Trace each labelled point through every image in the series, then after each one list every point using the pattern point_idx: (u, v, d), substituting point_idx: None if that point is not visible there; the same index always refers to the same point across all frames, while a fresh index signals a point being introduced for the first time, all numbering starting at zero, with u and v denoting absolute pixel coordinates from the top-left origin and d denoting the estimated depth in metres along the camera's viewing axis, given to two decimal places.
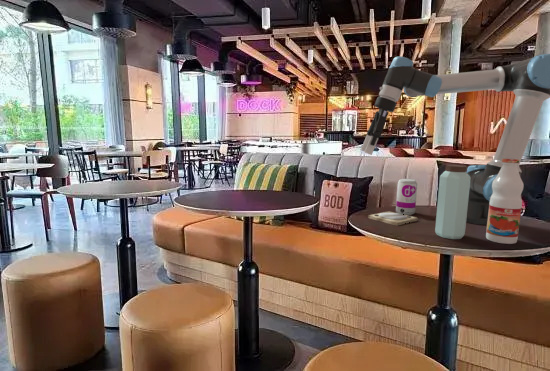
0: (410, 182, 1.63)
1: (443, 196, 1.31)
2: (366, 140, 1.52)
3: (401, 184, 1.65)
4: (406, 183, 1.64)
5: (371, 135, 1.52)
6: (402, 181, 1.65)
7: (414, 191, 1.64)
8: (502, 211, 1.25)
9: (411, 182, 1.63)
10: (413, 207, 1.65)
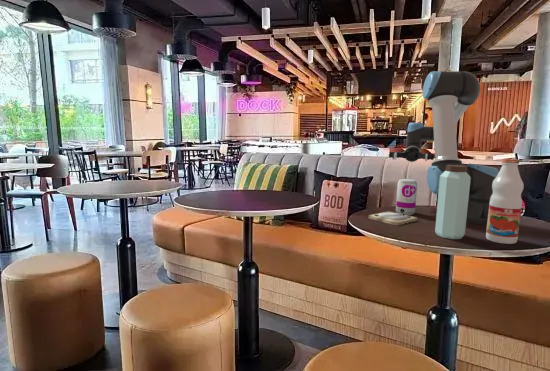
0: (410, 182, 1.63)
1: (443, 196, 1.31)
2: None
3: (401, 184, 1.65)
4: (406, 183, 1.64)
5: (427, 155, 1.77)
6: (402, 181, 1.65)
7: (414, 191, 1.64)
8: (502, 211, 1.25)
9: (411, 182, 1.63)
10: (413, 207, 1.65)
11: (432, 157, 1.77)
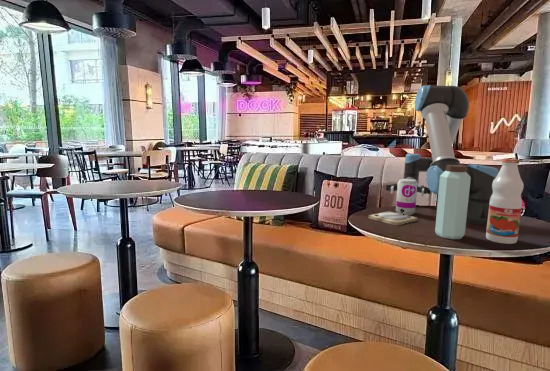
0: (410, 182, 1.63)
1: (443, 196, 1.31)
2: None
3: (401, 184, 1.65)
4: (406, 183, 1.64)
5: (424, 190, 1.78)
6: (402, 181, 1.65)
7: (414, 191, 1.64)
8: (502, 211, 1.25)
9: (411, 182, 1.63)
10: (413, 207, 1.65)
11: (429, 191, 1.77)
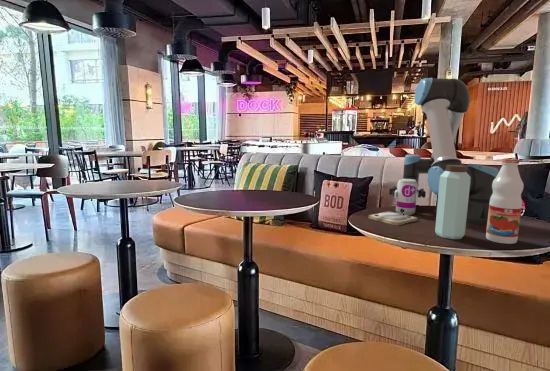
0: (410, 182, 1.63)
1: (443, 196, 1.31)
2: None
3: (401, 184, 1.65)
4: (406, 183, 1.64)
5: (418, 193, 1.68)
6: (402, 181, 1.65)
7: (414, 191, 1.64)
8: (502, 211, 1.25)
9: (411, 182, 1.63)
10: (413, 207, 1.65)
11: (423, 195, 1.67)
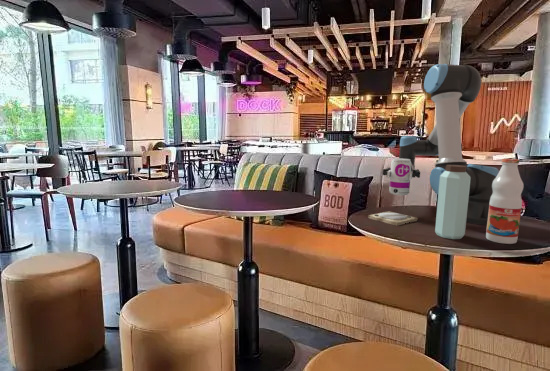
0: (404, 161, 1.58)
1: (443, 196, 1.31)
2: None
3: (394, 163, 1.59)
4: (399, 162, 1.58)
5: None
6: (395, 160, 1.59)
7: (408, 170, 1.58)
8: (502, 211, 1.25)
9: (405, 161, 1.58)
10: (407, 187, 1.60)
11: (418, 175, 1.62)
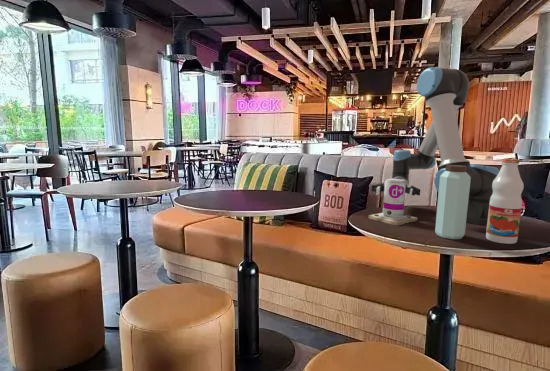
0: (398, 182, 1.51)
1: (443, 196, 1.31)
2: None
3: (388, 184, 1.53)
4: (393, 183, 1.51)
5: (412, 190, 1.56)
6: (389, 181, 1.53)
7: (402, 192, 1.52)
8: (502, 211, 1.25)
9: (399, 182, 1.51)
10: (401, 209, 1.53)
11: (418, 192, 1.55)
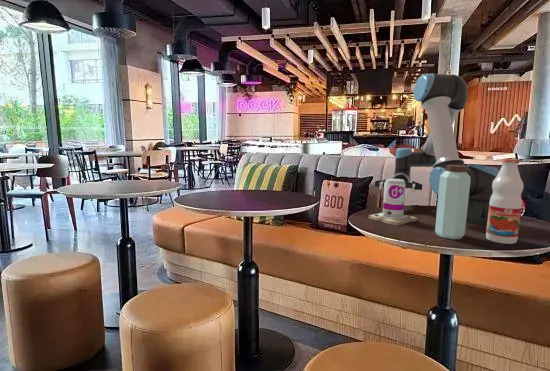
0: (397, 182, 1.51)
1: (443, 196, 1.31)
2: None
3: (388, 184, 1.53)
4: (393, 183, 1.51)
5: (415, 185, 1.67)
6: (389, 181, 1.53)
7: (402, 192, 1.52)
8: (502, 211, 1.25)
9: (398, 182, 1.51)
10: (401, 209, 1.53)
11: (420, 187, 1.66)
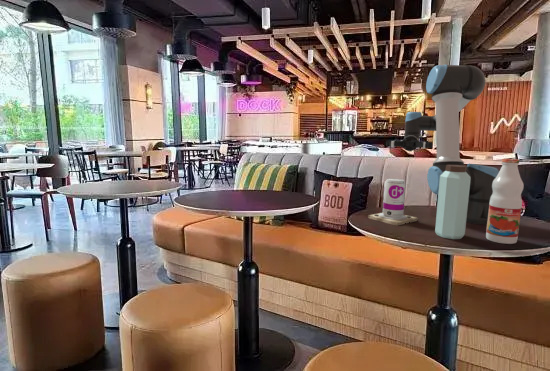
0: (397, 182, 1.51)
1: (443, 196, 1.31)
2: None
3: (388, 184, 1.53)
4: (393, 183, 1.51)
5: (425, 143, 1.73)
6: (389, 181, 1.53)
7: (402, 192, 1.52)
8: (502, 211, 1.25)
9: (399, 182, 1.51)
10: (401, 209, 1.53)
11: (430, 145, 1.72)
